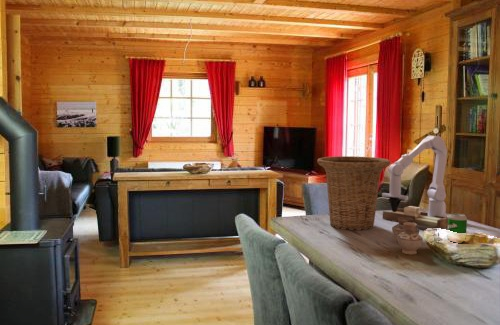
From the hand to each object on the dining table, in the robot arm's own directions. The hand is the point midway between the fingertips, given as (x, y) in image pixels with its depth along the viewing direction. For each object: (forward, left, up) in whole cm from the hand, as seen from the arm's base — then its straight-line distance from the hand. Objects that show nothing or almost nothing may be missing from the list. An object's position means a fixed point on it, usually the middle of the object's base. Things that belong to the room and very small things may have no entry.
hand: (394, 211), depth 255 cm
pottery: (+48, +34, -4) cm, 59 cm away
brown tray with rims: (0, +13, -3) cm, 14 cm away
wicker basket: (+32, -5, -3) cm, 33 cm away
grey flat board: (0, +22, -3) cm, 22 cm away
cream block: (0, +10, -1) cm, 10 cm away
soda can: (+24, +44, -3) cm, 50 cm away
